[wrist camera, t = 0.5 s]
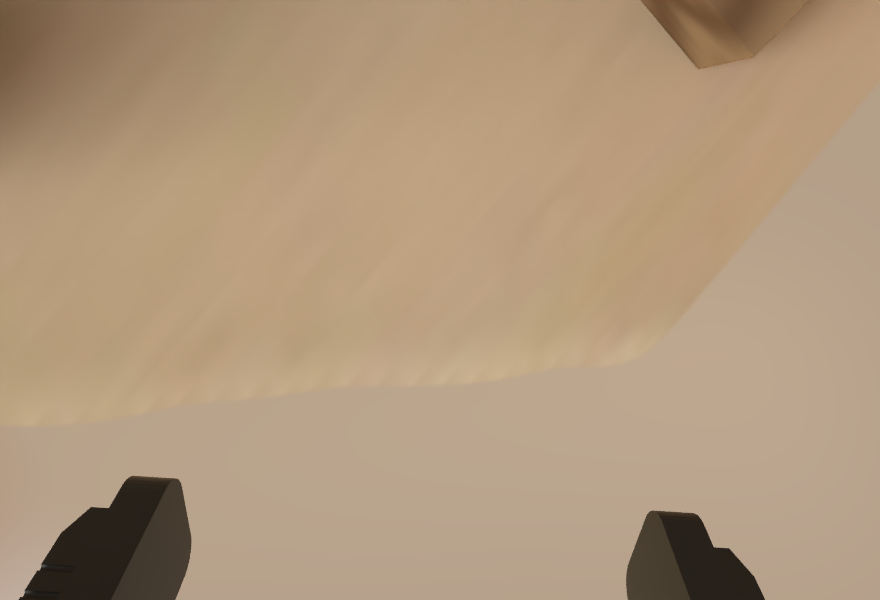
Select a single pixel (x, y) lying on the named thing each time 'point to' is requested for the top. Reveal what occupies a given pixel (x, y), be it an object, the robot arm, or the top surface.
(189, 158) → the top surface
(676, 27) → the wooden block with hole
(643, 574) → the robot arm
